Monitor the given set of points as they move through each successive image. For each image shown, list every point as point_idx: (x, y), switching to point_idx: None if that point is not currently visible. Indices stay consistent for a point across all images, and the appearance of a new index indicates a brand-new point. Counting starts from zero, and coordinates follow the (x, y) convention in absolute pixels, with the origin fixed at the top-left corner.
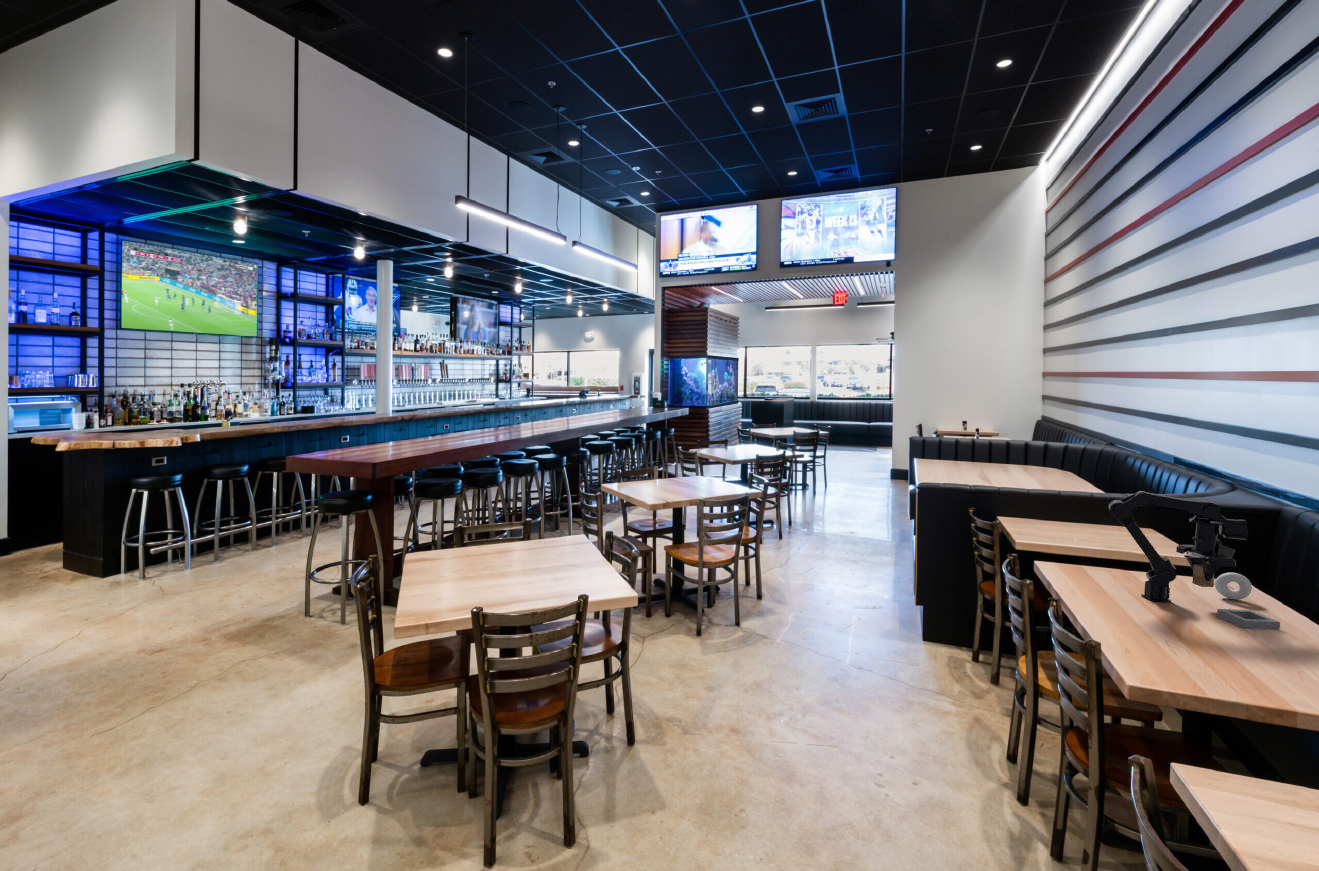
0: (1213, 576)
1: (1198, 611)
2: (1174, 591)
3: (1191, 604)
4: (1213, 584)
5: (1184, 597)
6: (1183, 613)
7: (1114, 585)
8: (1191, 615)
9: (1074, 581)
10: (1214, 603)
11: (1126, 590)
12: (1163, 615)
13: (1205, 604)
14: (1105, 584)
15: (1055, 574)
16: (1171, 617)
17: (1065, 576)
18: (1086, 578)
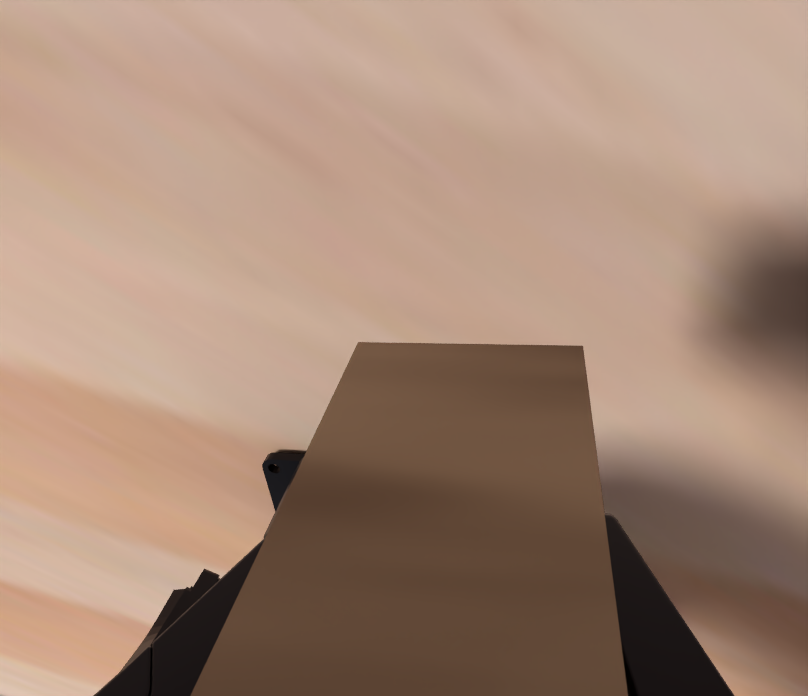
0: (603, 533)
1: (663, 409)
2: (30, 210)
3: (450, 330)
4: (587, 382)
5: (219, 244)
6: (705, 550)
7: (87, 553)
8: (762, 530)
9: (108, 679)
10: (366, 21)
11: (183, 554)
12: (731, 678)
13: (428, 178)
14: (90, 585)
15: (10, 682)
16: (781, 666)
17: (24, 665)
18: (3, 603)
